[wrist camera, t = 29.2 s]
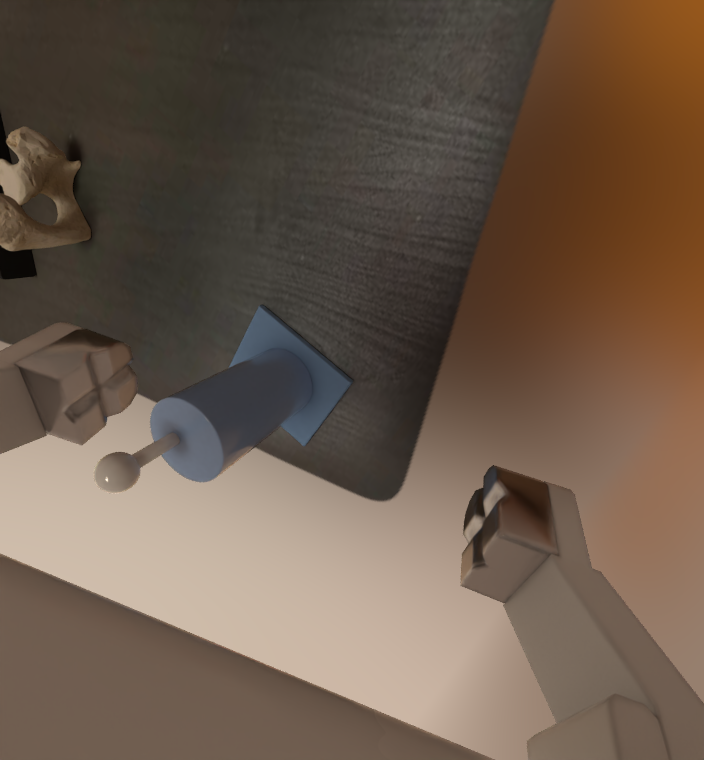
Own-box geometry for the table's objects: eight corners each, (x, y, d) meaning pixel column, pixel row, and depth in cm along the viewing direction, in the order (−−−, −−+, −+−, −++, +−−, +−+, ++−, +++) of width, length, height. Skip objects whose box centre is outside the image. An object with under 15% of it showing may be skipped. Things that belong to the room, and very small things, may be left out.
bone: (5, 114, 32) (-103, 111, 23) (93, 133, 33) (21, 137, 25) (28, 224, 36) (-56, 255, 28) (105, 238, 37) (47, 272, 29)
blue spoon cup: (312, 353, 29) (140, 452, 17) (313, 418, 31) (162, 550, 19) (251, 343, 31) (58, 425, 19) (256, 405, 33) (85, 517, 21)
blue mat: (354, 380, 29) (351, 383, 28) (307, 443, 33) (304, 446, 32) (262, 304, 30) (258, 305, 29) (227, 374, 34) (224, 376, 33)
